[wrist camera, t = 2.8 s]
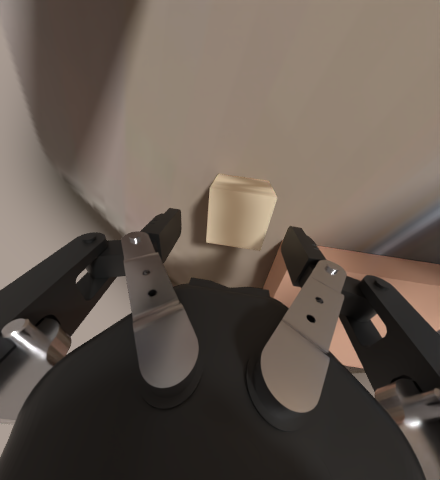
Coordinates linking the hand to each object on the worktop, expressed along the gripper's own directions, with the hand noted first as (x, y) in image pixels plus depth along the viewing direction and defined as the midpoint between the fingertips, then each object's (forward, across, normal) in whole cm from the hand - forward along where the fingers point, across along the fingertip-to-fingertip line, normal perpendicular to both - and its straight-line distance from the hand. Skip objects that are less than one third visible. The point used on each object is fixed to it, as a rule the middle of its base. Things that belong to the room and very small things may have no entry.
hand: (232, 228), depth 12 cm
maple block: (+6, 0, 0) cm, 6 cm away
